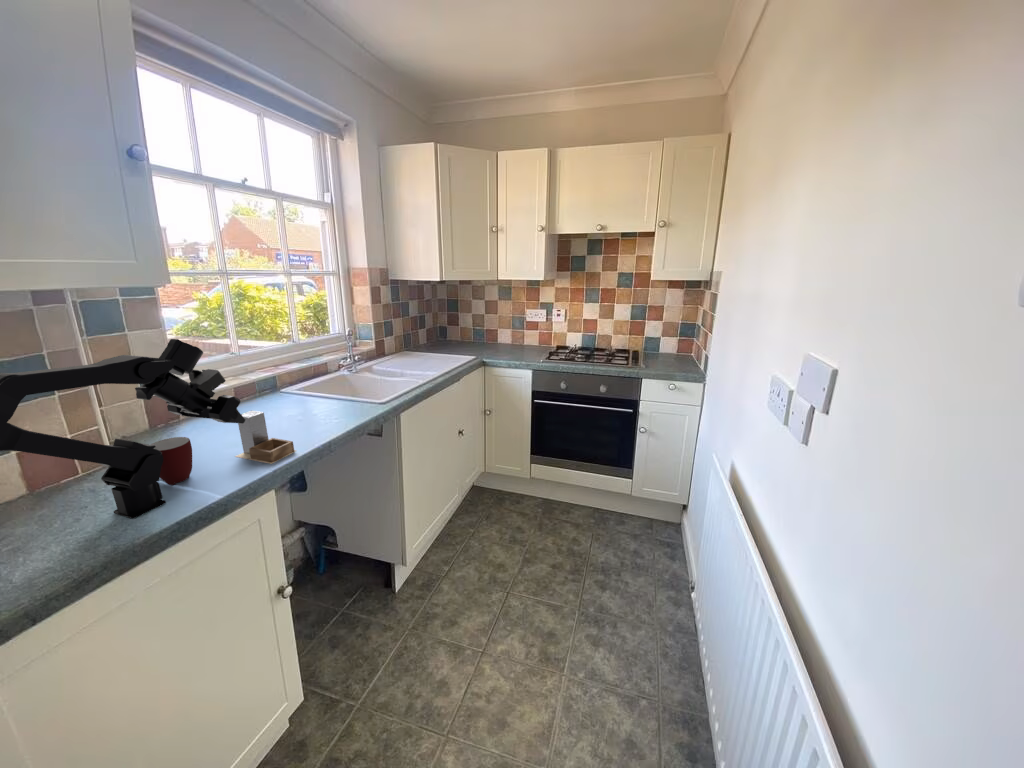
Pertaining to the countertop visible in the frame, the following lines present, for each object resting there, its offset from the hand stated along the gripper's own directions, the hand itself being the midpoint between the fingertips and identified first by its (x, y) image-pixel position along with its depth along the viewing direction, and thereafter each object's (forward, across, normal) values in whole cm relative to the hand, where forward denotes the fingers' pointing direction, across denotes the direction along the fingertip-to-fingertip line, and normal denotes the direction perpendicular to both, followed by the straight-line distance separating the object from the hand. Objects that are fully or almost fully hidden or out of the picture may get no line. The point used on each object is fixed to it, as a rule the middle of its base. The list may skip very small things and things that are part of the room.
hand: (231, 419), depth 107 cm
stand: (+12, -4, +5) cm, 14 cm away
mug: (0, +6, +18) cm, 18 cm away
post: (+12, 0, +4) cm, 13 cm away
